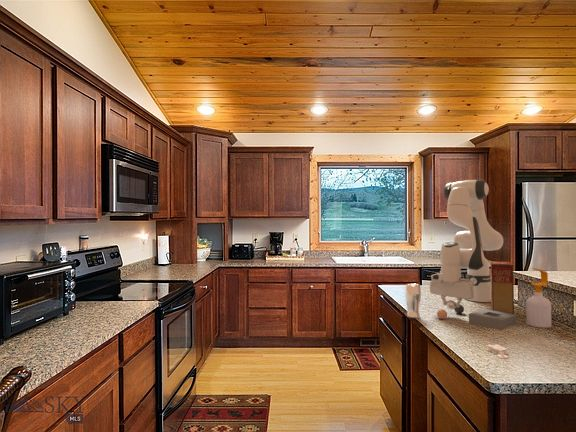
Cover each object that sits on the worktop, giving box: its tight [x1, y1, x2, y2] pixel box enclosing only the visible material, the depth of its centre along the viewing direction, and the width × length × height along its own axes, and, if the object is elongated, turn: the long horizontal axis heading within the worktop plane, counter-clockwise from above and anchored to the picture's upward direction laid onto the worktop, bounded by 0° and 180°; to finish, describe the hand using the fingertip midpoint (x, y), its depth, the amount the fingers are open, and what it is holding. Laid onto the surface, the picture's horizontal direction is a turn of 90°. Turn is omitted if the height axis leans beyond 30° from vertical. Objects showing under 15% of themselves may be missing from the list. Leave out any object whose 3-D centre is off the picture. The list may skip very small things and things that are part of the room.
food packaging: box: [490, 260, 515, 314], centre depth 182 cm, size 13×9×25 cm
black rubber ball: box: [453, 304, 465, 314], centre depth 186 cm, size 4×4×4 cm
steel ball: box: [445, 299, 457, 310], centre depth 181 cm, size 4×4×4 cm
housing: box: [468, 308, 517, 331], centre depth 168 cm, size 14×14×4 cm
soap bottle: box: [525, 267, 552, 329], centre depth 165 cm, size 9×9×25 cm
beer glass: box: [405, 283, 422, 319], centre depth 181 cm, size 7×7×15 cm
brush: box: [485, 342, 509, 360], centre depth 132 cm, size 9×9×2 cm
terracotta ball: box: [436, 308, 448, 320], centre depth 176 cm, size 4×4×4 cm
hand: (451, 305), depth 181 cm, fingers closed on steel ball, 4 cm apart
